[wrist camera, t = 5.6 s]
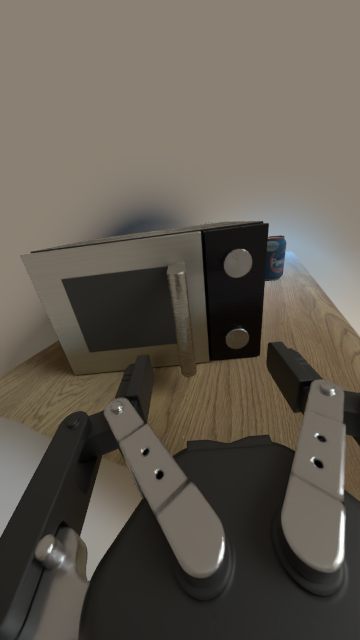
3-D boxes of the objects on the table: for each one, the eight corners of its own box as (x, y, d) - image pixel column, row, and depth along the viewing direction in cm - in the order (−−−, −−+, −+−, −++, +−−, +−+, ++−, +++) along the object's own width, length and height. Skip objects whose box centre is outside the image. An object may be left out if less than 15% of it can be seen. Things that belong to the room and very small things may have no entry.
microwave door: (216, 393, 24) (207, 234, 16) (52, 407, 25) (-30, 265, 17) (208, 355, 31) (199, 231, 23) (79, 368, 32) (29, 253, 24)
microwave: (261, 360, 28) (272, 221, 21) (73, 378, 30) (15, 254, 22) (225, 300, 50) (224, 221, 42) (118, 312, 52) (97, 238, 44)
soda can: (274, 282, 58) (278, 238, 53) (253, 279, 63) (255, 239, 58) (286, 276, 62) (291, 235, 57) (266, 274, 67) (268, 235, 62)
